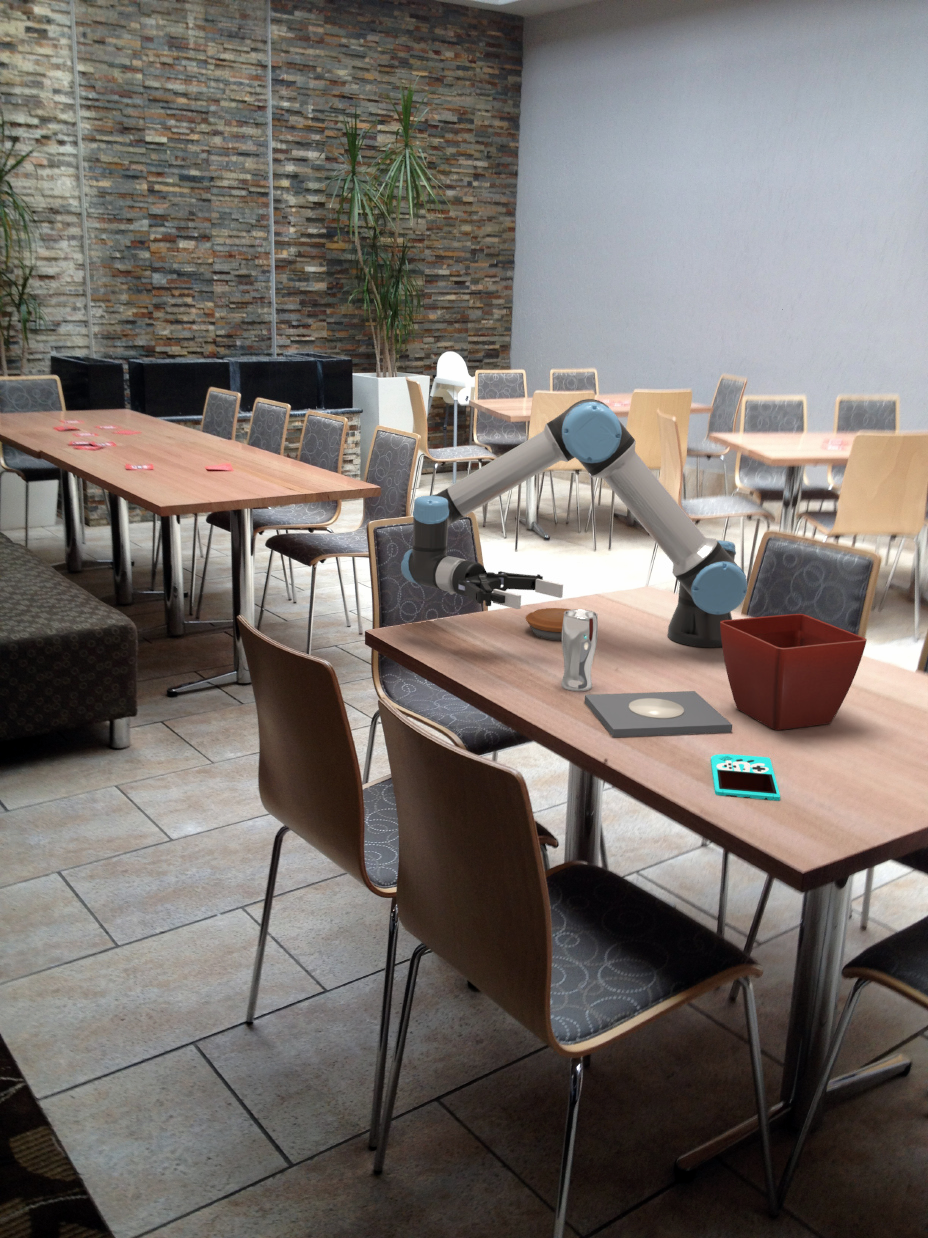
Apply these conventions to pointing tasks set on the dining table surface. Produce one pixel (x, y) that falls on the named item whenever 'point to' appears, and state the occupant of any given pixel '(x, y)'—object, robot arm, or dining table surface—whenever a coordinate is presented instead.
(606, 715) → the serving board
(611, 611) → the dining table surface
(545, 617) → the pie
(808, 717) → the plant pot
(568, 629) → the beer glass
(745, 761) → the handheld game console
